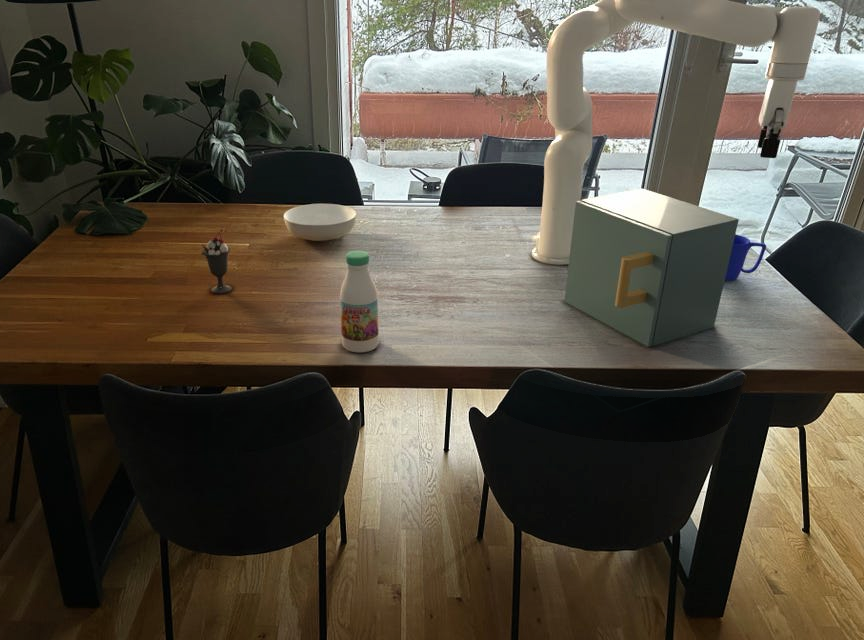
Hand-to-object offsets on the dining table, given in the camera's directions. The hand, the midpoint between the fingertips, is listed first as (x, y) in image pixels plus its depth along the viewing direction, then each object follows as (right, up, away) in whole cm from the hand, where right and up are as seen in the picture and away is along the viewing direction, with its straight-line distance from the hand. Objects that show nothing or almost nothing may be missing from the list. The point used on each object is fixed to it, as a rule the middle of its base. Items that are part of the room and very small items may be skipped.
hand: (766, 152), depth 162 cm
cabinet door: (-41, -39, -6) cm, 57 cm away
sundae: (-126, -30, +15) cm, 130 cm away
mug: (0, -27, +17) cm, 31 cm away
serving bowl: (-104, -11, +49) cm, 116 cm away
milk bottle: (-91, -44, -12) cm, 102 cm away
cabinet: (-29, -36, -1) cm, 46 cm away
